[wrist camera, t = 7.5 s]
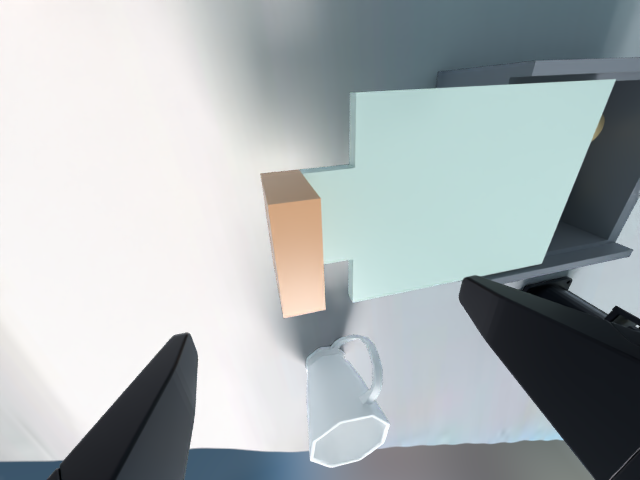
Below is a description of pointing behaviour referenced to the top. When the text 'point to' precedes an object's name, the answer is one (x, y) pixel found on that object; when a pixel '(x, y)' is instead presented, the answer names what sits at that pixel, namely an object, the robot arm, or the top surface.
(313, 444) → the cup
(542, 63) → the tub
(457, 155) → the lid
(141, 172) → the top surface
